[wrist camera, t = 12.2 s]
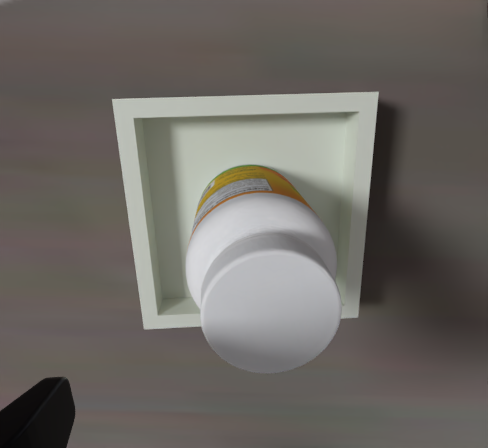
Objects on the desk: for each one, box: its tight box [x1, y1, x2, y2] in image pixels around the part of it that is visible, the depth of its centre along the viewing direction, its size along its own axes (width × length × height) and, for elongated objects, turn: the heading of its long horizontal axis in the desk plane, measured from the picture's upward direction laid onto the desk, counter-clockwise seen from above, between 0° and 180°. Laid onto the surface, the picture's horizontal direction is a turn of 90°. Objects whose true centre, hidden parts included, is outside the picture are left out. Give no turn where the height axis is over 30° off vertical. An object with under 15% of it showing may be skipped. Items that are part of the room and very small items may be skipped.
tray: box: [112, 92, 379, 329], centre depth 19 cm, size 12×12×2 cm
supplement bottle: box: [186, 164, 342, 374], centre depth 14 cm, size 5×5×10 cm
